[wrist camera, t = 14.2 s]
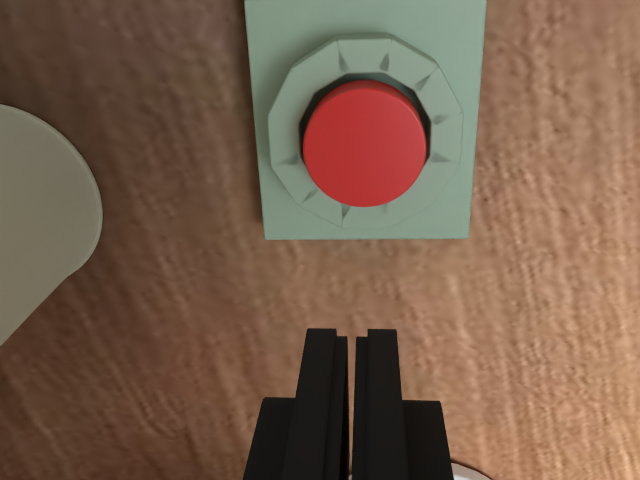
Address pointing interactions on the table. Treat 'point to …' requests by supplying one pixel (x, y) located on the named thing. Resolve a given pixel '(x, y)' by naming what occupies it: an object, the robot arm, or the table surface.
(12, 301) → the can
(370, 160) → the power button
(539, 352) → the table surface
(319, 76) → the power switch
